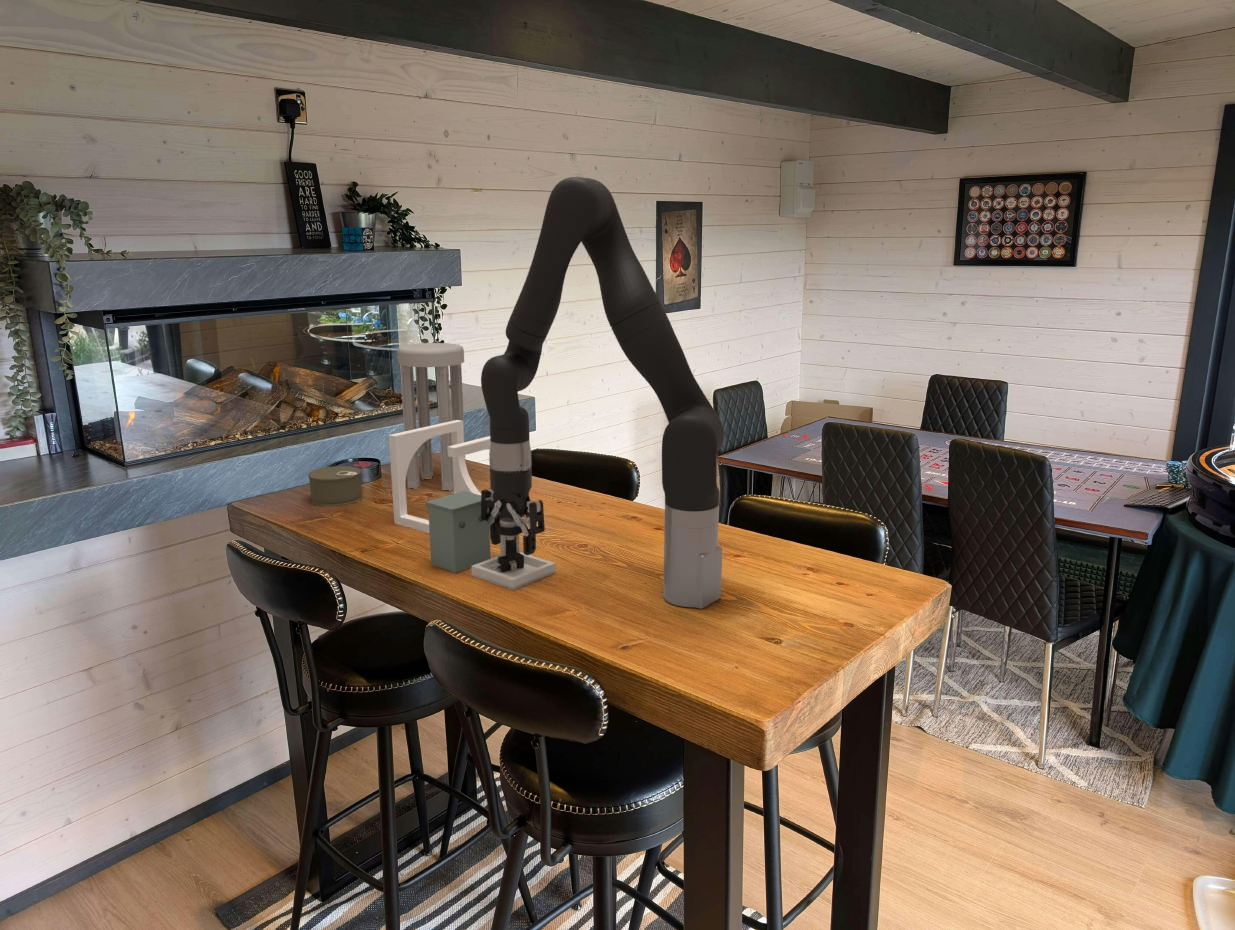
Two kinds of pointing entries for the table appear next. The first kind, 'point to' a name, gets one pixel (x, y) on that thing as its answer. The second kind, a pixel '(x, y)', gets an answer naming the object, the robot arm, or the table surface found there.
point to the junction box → (458, 532)
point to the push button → (509, 546)
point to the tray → (514, 572)
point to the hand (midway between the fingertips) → (512, 548)
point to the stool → (421, 359)
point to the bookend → (406, 447)
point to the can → (335, 485)
